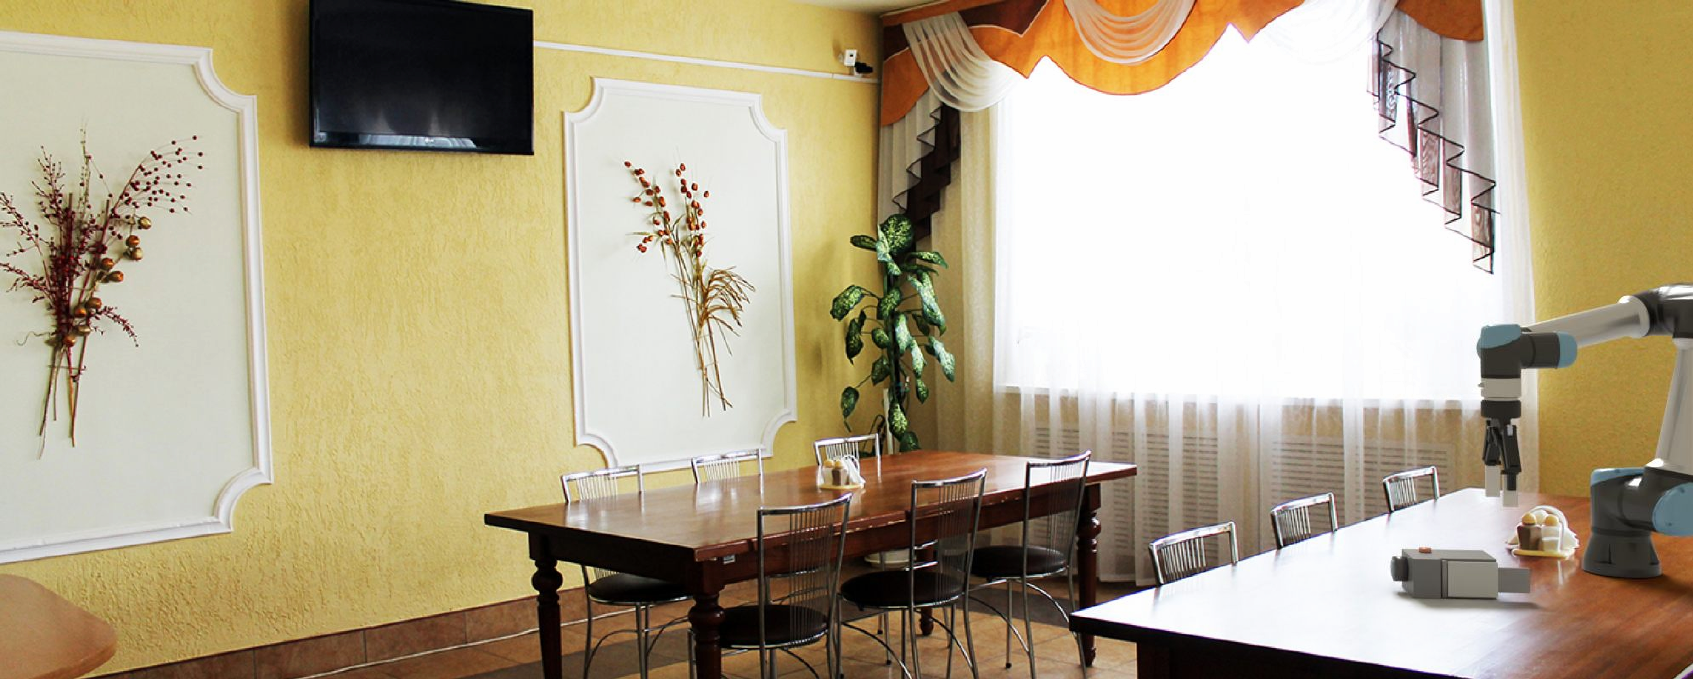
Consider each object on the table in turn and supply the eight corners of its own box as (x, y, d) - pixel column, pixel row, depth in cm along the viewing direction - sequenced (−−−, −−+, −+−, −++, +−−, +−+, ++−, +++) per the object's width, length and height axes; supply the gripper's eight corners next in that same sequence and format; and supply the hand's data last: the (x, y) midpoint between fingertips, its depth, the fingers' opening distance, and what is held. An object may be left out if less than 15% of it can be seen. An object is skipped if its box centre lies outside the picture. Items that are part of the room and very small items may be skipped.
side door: (1528, 598, 267) (1528, 561, 267) (1530, 599, 266) (1530, 562, 266) (1441, 596, 270) (1441, 560, 270) (1442, 597, 269) (1442, 560, 269)
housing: (1482, 588, 278) (1482, 546, 278) (1498, 599, 267) (1497, 556, 267) (1388, 585, 282) (1388, 544, 282) (1399, 597, 271) (1399, 554, 271)
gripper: (1466, 394, 286) (1467, 492, 286) (1497, 403, 261) (1497, 510, 262) (1504, 394, 284) (1504, 492, 285) (1538, 403, 260) (1539, 511, 260)
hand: (1501, 501), depth 273 cm, fingers open, 13 cm apart
